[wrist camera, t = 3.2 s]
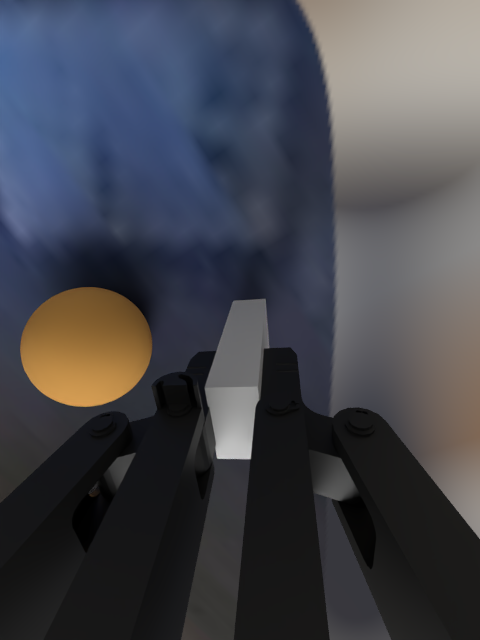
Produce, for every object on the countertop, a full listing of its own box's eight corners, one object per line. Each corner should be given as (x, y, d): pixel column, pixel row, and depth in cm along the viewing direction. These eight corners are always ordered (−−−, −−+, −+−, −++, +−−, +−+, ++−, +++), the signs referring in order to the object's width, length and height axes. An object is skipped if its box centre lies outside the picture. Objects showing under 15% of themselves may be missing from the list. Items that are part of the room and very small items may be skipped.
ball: (86, 364, 19) (19, 433, 14) (55, 275, 17) (-40, 320, 12) (175, 362, 18) (137, 434, 13) (155, 268, 16) (99, 313, 11)
